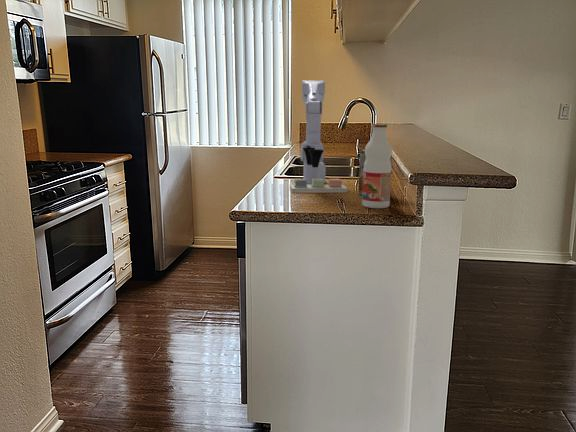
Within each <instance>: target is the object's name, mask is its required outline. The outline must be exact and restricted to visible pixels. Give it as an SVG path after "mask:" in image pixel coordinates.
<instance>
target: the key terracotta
mask: <svg viewBox="0 0 576 432" xmlns="http://www.w3.org/2000/svg"><path fill="white" fill-rule="evenodd" d="M328 184H329V185H330V186H342V184H343V181H342V179H341V178H328Z"/></svg>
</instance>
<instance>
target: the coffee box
mask: <svg viewBox="0 0 576 432" xmlns="http://www.w3.org/2000/svg"><path fill="white" fill-rule="evenodd" d="M365 160H366V156H365V151H364V152H361V153H359V168H358V170H359V171H358V172H359V173H358V196H362V192H363V169H364V162H365Z"/></svg>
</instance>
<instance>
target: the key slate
mask: <svg viewBox="0 0 576 432" xmlns="http://www.w3.org/2000/svg"><path fill="white" fill-rule="evenodd" d="M294 184H295V186H307V184H308V183H307V180H306V179H303V178H295V179H294Z"/></svg>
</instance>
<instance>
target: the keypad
mask: <svg viewBox="0 0 576 432" xmlns="http://www.w3.org/2000/svg"><path fill="white" fill-rule="evenodd" d="M289 191H291V193H295V194H296V193H297V194H298V193H299V194H300V193H303V194H304V193H307V194H310V193H314V194H315V193H320V194H321V193H322V194H323V193H332V194H333V193H336V194H337V193H340V194H341V193H348V188H347V186H345V185H344V184H343V183H342V186H330V185H329V183H328V184H325V183H324V186H313V185H312V184H308V183H307V186H295V183H294V184H292V183H291V184H289Z"/></svg>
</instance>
